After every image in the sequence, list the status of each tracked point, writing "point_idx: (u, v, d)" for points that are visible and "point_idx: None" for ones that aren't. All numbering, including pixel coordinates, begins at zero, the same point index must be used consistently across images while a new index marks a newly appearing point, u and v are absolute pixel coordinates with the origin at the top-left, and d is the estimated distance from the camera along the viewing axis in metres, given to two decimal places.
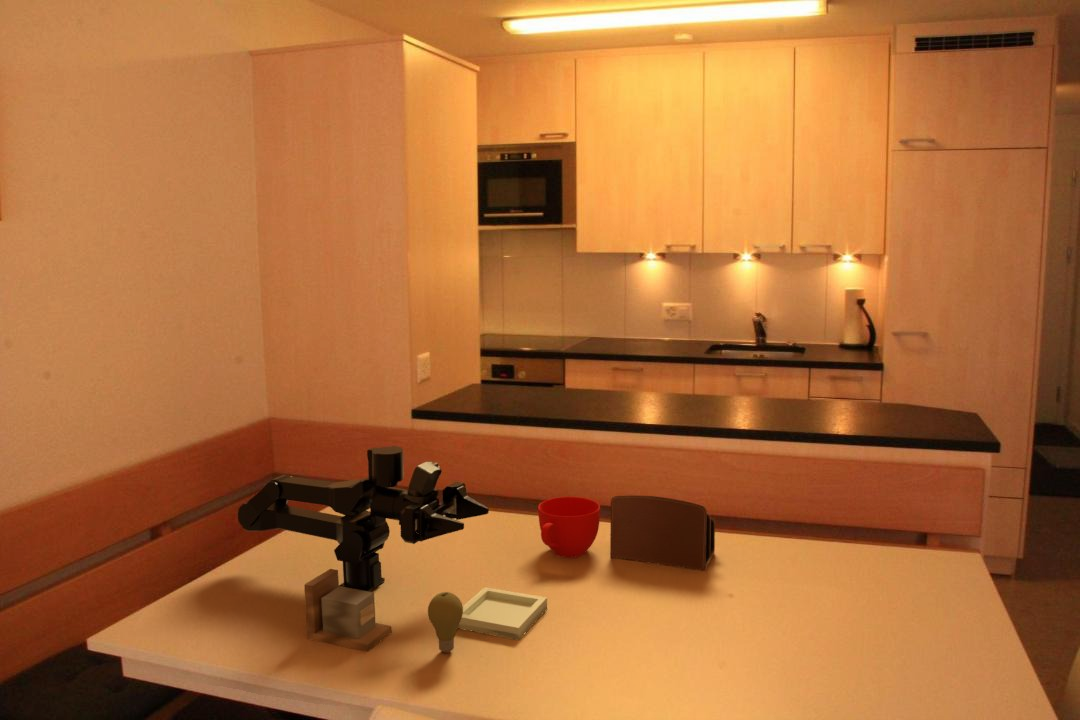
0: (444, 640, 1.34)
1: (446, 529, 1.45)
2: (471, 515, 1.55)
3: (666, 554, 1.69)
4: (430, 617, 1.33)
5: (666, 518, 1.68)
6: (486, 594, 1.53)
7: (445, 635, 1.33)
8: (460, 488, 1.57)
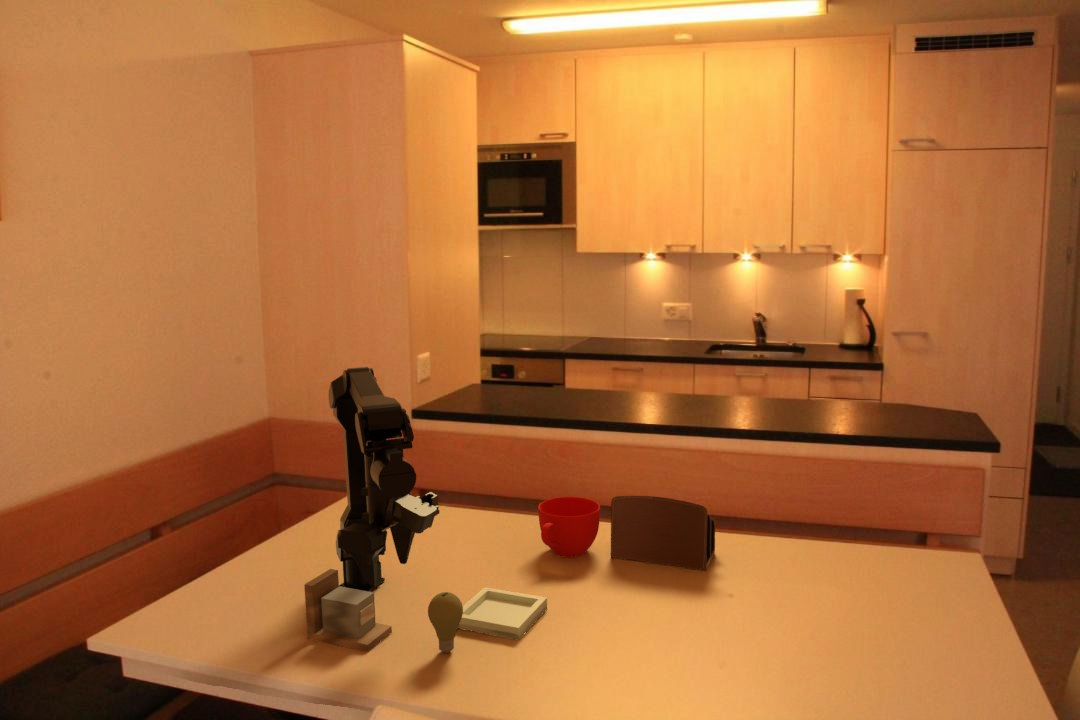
0: (444, 640, 1.34)
1: (363, 569, 1.31)
2: (395, 542, 1.41)
3: (667, 554, 1.69)
4: (430, 617, 1.33)
5: (667, 518, 1.68)
6: (486, 594, 1.53)
7: (445, 635, 1.33)
8: None
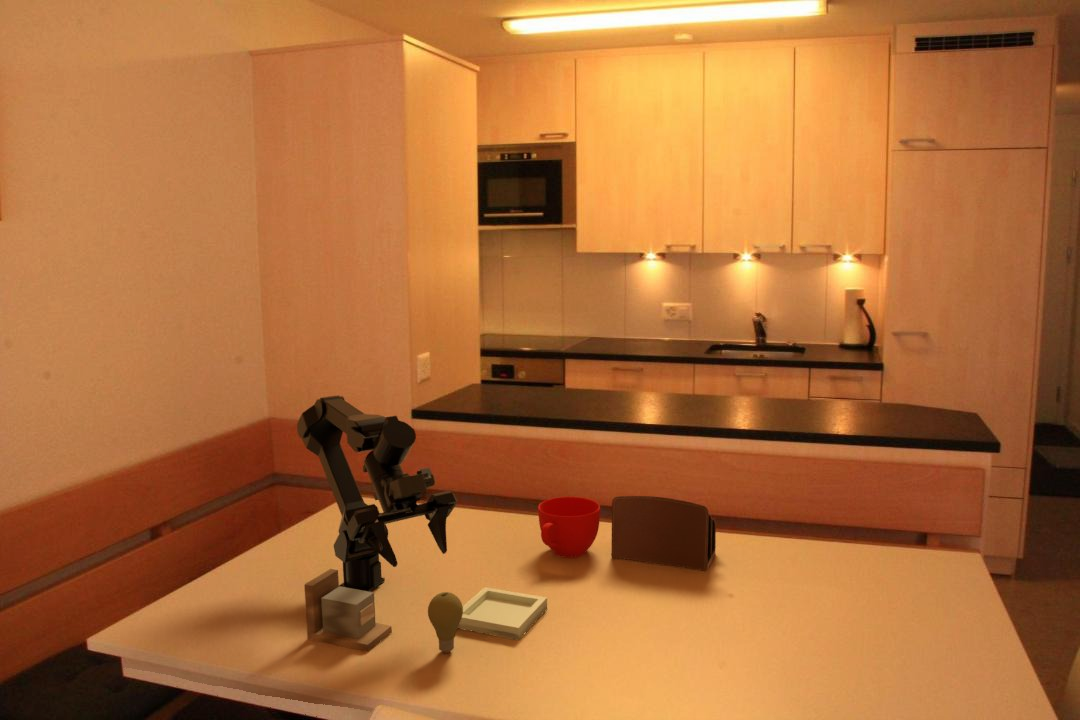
0: (444, 640, 1.34)
1: (383, 554, 1.38)
2: (435, 538, 1.45)
3: (668, 554, 1.69)
4: (430, 617, 1.33)
5: (668, 518, 1.68)
6: (486, 594, 1.53)
7: (445, 635, 1.33)
8: (443, 508, 1.44)
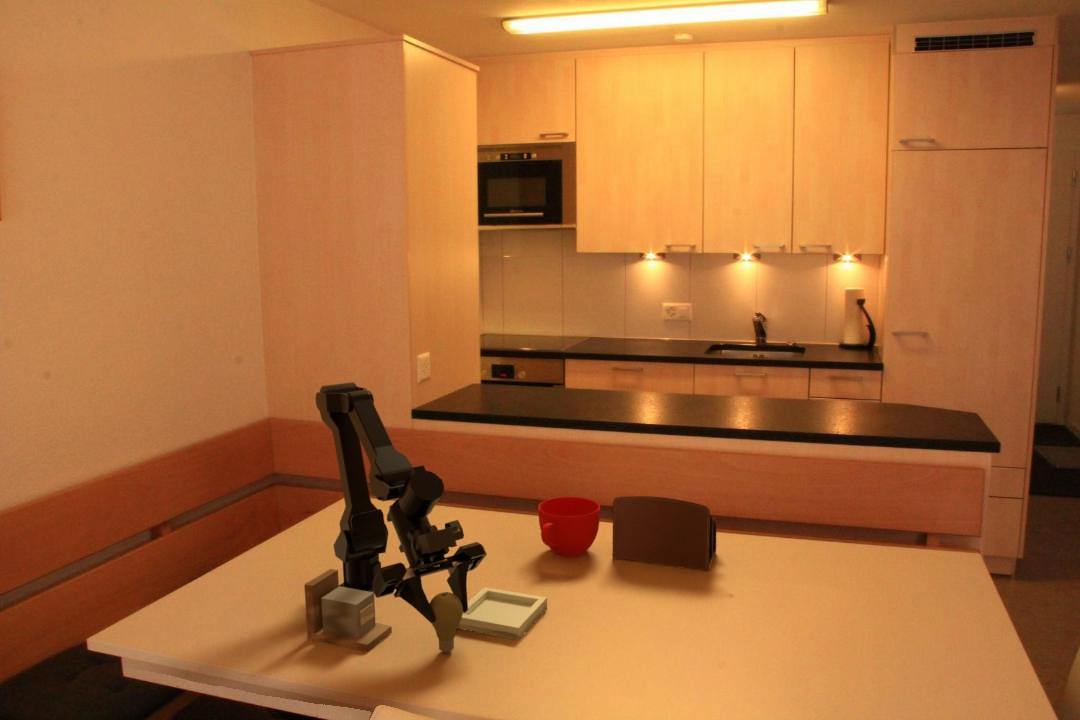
0: (444, 640, 1.34)
1: (419, 609, 1.33)
2: None
3: (669, 555, 1.68)
4: None
5: (669, 518, 1.68)
6: (486, 594, 1.53)
7: (445, 635, 1.33)
8: (464, 564, 1.37)
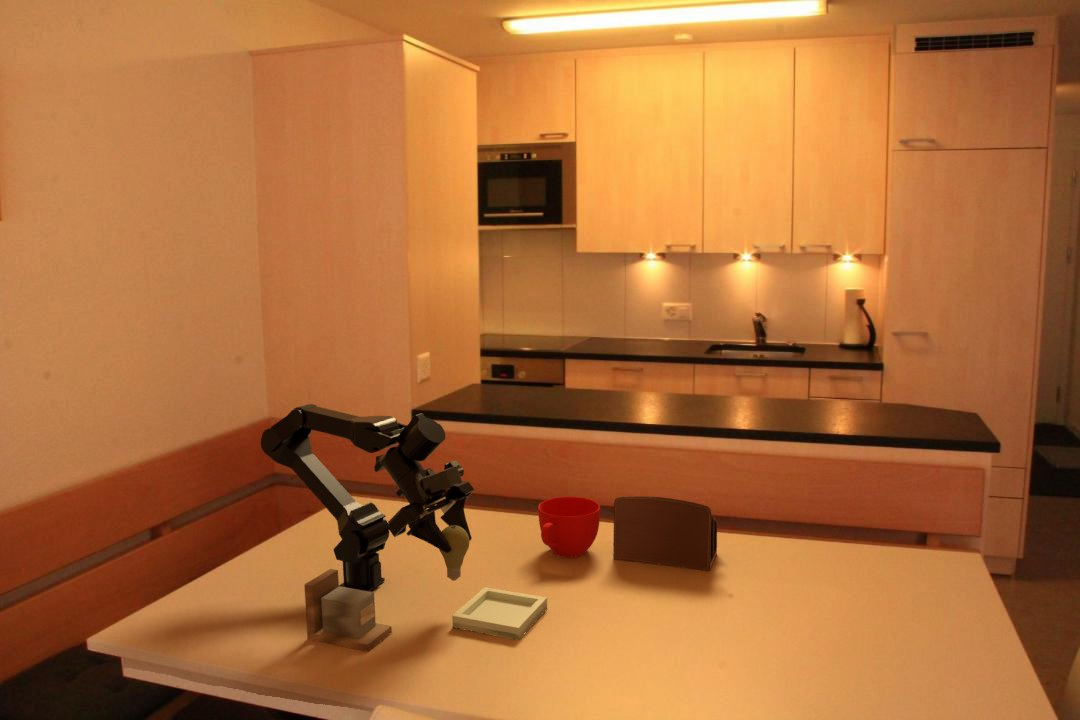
0: (455, 568, 1.48)
1: (434, 542, 1.46)
2: None
3: (670, 555, 1.68)
4: None
5: (670, 519, 1.67)
6: (486, 594, 1.53)
7: (457, 562, 1.48)
8: (462, 499, 1.52)
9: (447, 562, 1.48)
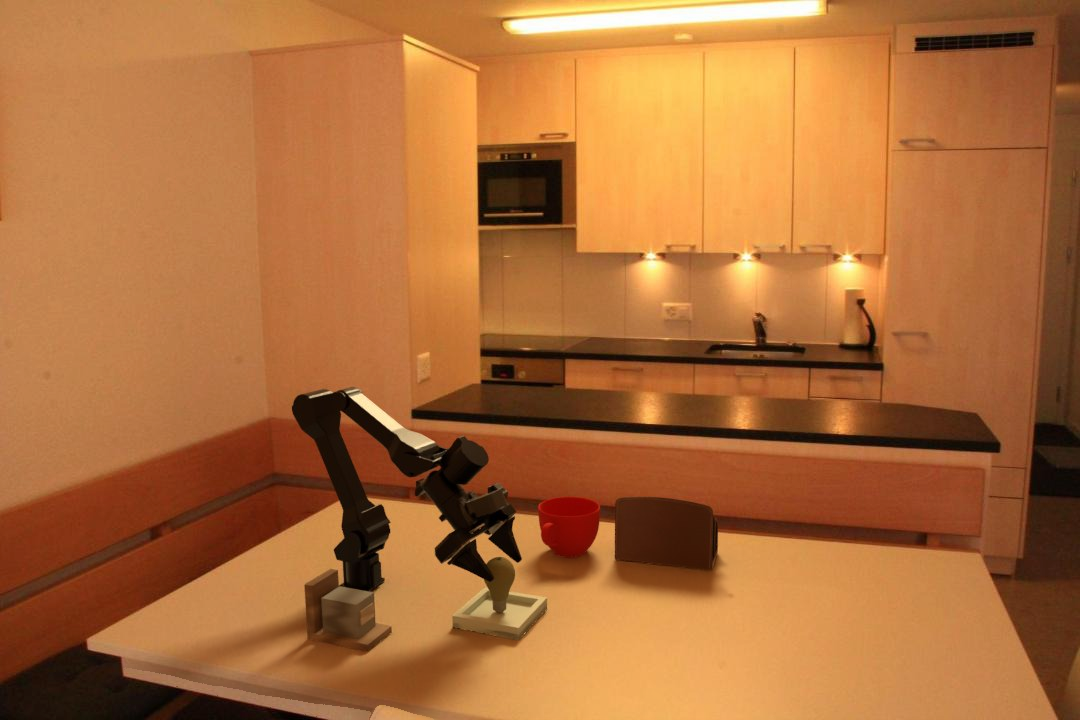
0: (502, 600, 1.45)
1: (476, 571, 1.41)
2: (503, 550, 1.51)
3: (672, 555, 1.68)
4: None
5: (672, 519, 1.67)
6: (486, 594, 1.53)
7: (503, 595, 1.45)
8: (510, 520, 1.51)
9: (493, 595, 1.45)
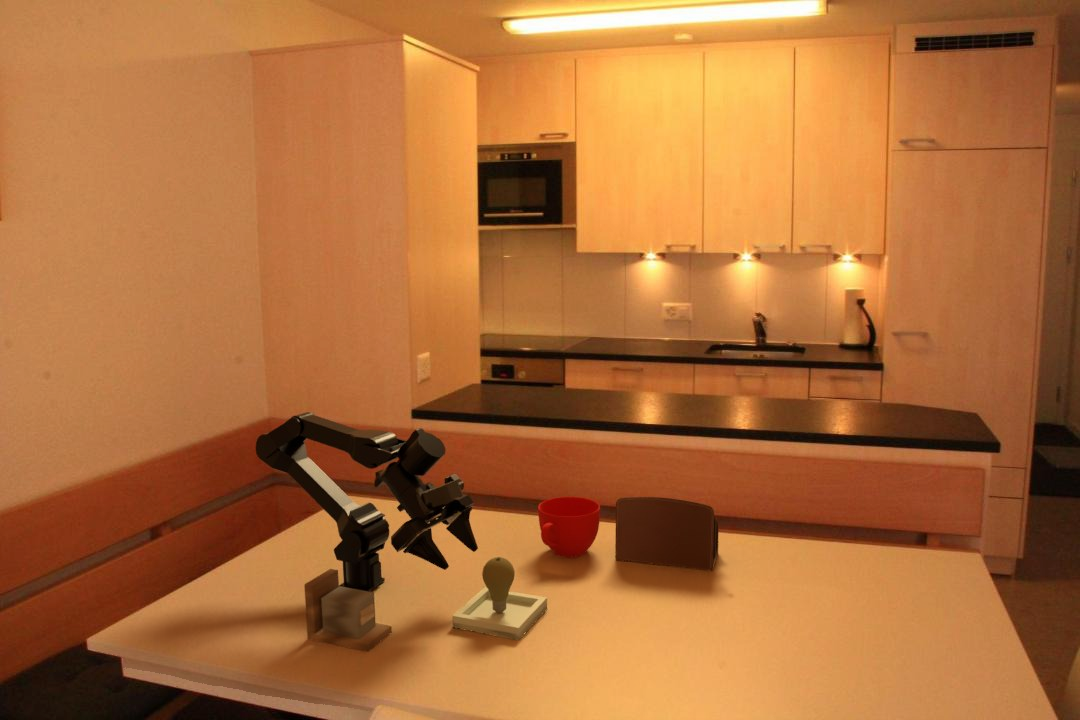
0: (501, 601, 1.45)
1: (431, 559, 1.46)
2: (460, 539, 1.55)
3: (673, 555, 1.68)
4: (490, 582, 1.44)
5: (673, 519, 1.67)
6: (486, 594, 1.53)
7: (503, 595, 1.45)
8: (467, 510, 1.55)
9: (493, 595, 1.45)
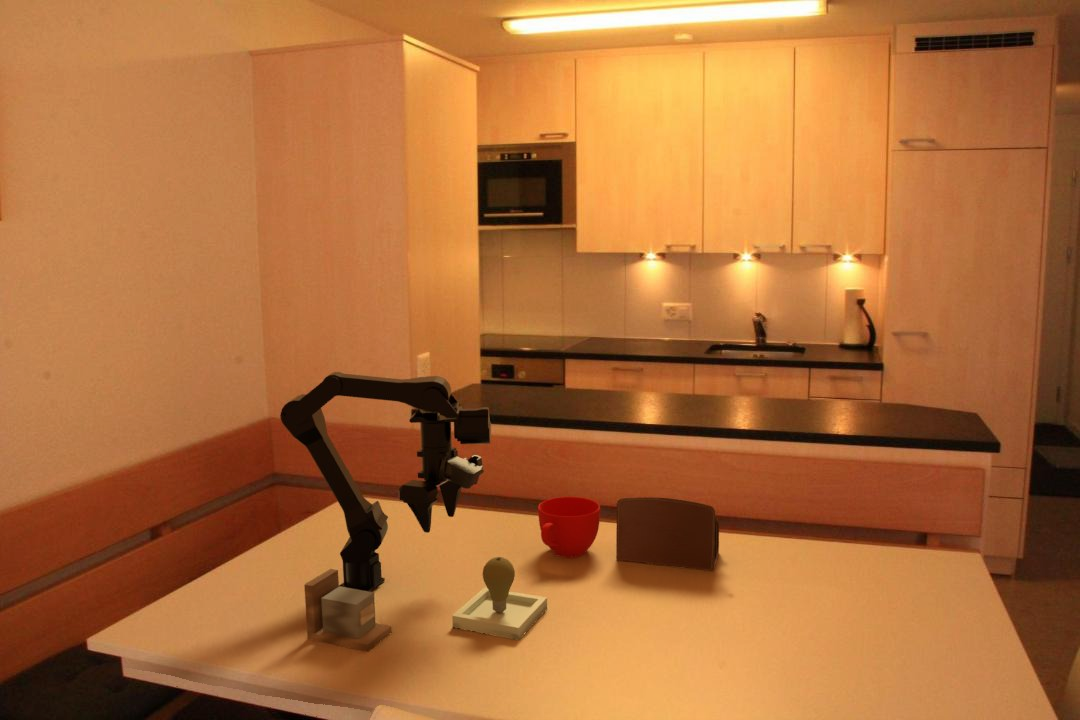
0: (501, 600, 1.45)
1: (420, 518, 1.55)
2: (444, 498, 1.64)
3: (674, 555, 1.68)
4: (490, 581, 1.44)
5: (674, 519, 1.67)
6: (486, 594, 1.53)
7: (503, 595, 1.45)
8: None
9: (493, 595, 1.45)
